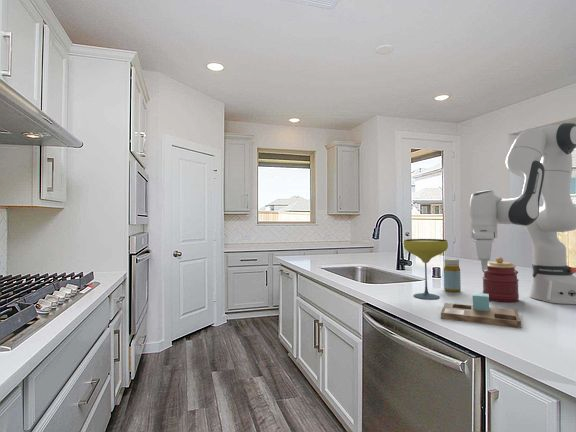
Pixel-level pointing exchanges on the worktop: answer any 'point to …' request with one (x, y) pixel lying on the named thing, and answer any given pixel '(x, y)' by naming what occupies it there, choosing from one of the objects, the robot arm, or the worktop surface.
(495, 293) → the canister
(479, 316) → the board
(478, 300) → the teal block
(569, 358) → the worktop surface
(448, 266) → the bottle
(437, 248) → the cocktail glass
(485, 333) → the worktop surface
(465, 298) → the worktop surface
